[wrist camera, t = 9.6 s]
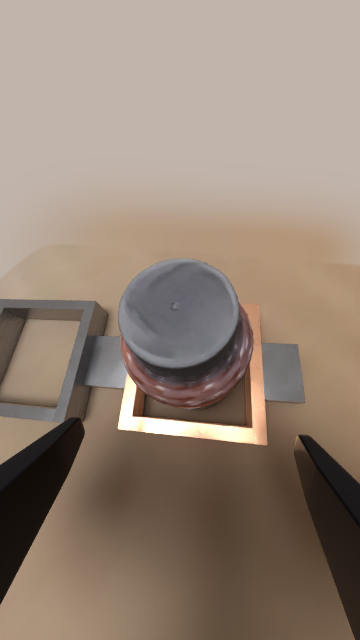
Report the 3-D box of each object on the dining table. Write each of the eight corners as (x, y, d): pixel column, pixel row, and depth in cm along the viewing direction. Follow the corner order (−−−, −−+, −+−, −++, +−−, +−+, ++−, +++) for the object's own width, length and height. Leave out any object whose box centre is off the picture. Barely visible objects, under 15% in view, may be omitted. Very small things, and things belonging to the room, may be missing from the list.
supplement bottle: (211, 427, 15) (217, 459, 5) (144, 385, 17) (47, 345, 7) (245, 355, 17) (302, 269, 7) (181, 323, 19) (148, 216, 9)
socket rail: (288, 318, 18) (300, 304, 16) (303, 444, 14) (321, 451, 12) (-4, 310, 22) (-28, 298, 20) (-48, 407, 18) (-84, 407, 16)
